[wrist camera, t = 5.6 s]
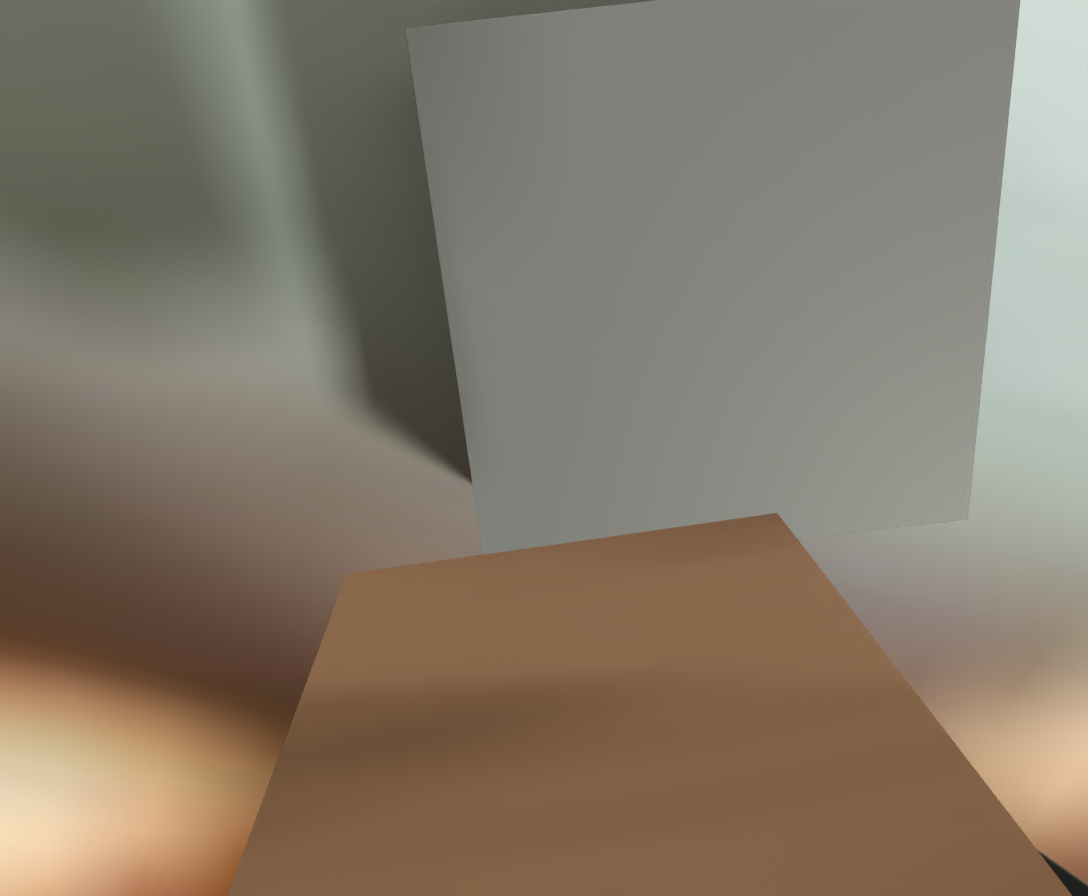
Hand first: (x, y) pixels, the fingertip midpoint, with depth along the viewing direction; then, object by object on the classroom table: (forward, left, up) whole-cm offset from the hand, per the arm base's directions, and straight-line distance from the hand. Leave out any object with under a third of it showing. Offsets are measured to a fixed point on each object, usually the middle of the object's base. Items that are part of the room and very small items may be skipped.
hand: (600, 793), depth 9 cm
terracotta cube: (0, 0, -1) cm, 1 cm away
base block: (+4, -3, -11) cm, 12 cm away
